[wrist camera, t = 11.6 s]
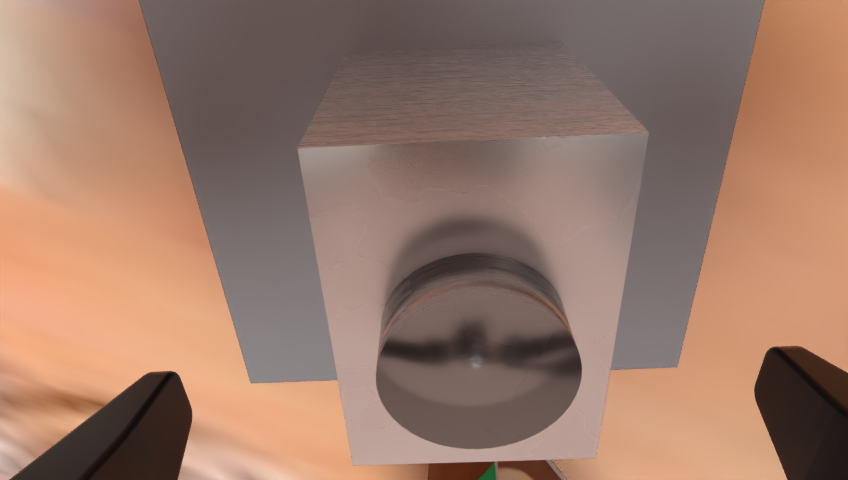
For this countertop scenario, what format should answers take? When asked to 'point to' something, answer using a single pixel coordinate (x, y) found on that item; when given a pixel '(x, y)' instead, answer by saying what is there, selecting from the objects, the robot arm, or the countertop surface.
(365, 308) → the housing
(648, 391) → the countertop surface
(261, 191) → the stand
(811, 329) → the countertop surface
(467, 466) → the food container
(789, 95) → the countertop surface
